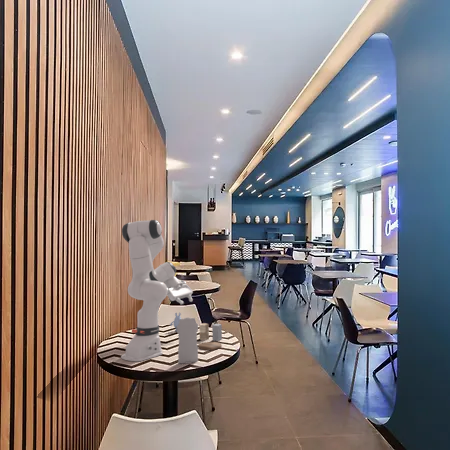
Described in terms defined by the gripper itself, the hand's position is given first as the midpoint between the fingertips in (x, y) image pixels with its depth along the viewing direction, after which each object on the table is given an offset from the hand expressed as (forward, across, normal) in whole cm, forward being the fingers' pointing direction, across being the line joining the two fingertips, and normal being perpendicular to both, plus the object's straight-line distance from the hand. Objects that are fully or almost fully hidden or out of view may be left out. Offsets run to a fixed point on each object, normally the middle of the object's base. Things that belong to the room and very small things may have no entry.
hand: (187, 302), depth 241 cm
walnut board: (+32, -13, -2) cm, 35 cm away
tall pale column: (+35, -40, -6) cm, 53 cm away
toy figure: (+5, +8, +26) cm, 27 cm away
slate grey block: (+30, +1, +1) cm, 30 cm away
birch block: (+24, -1, +6) cm, 25 cm away
